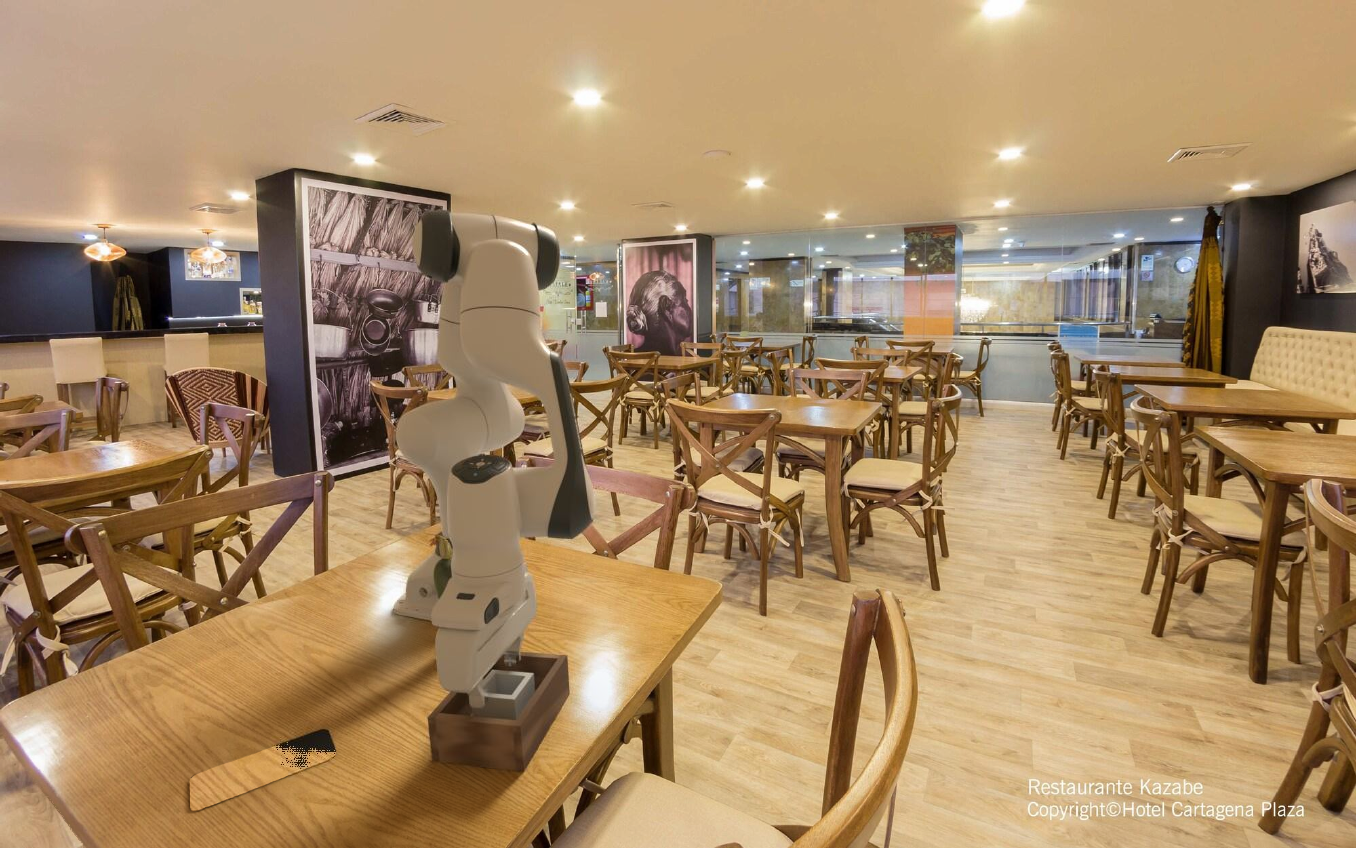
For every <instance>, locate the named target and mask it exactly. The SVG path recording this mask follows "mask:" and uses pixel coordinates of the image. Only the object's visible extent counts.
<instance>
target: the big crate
mask: <svg viewBox="0 0 1356 848" xmlns="http://www.w3.org/2000/svg"><path fill="white" fill-rule="evenodd" d="M520 653H521V660H520V661H519V663H518V664H517V665H516V666H515V667H512V666H506V665H505V664H504V660H505V659H504V654H503V655H502V656H501V657H500V659H499V660H498V661H497V662H496V663H495V664H494V665H493V667H492V668H491V669H490V670H489V671H488V672H487V674H486V675H485V676H484V677H483V680H484V679H485V678H486V677H487V675H488V674H489V673H490V672H491V671H492V670H502V671H514V672H525V673H534V683H535V693H534V695H533V696H532V698H531V699H530V701H529V702H528V704H527V705H526V707H525V708H524V710H523V711H522V712H521V714H520V715H519V717H518V718H517V720H507V719H496V718H486V717H475V716H473V714H472V707H471V706H470V702H469V695H468V694H467V693H459V692H451V691H449V693H448V694H447V695H446V696H445V697H444V698H443V699H442V701H441V702H440V703H438V705H437V706H436V707H435V708H434V709H433V711H432V712H430V714H429V715H428V716H427V718H426V719H427V725H428V735H429V745H430V752H431V753H430V755H431V762H433V763H444V764H452V765H460V766H462V765H463V766H471V767H480V768H489V769H495V770H496V769H498V770H508V771H514V772H525V771H526V769H527V768H528V766H529V764H530V762H532V759H533V757H534V755H535V754H536V752H537V751H538V748H539V747H540V746H541V744H542V742H543V740H544V738H545V737H546V735H547V733H548V732H549V730H550V728H551V726H552V725H553V723H554V721H555V720H556V718H557V716H558V715H559V713H560V711H561V710H562V708H563V706H564V704H565V703H566V702H567V699H568V698H569V696H570V676H569V675H570V673H569V662H568V661H569V660H568V654H557V653H556V654H555V653H543V652H542V653H541V652H530V651H529V652H527V651H520Z"/></svg>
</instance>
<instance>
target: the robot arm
mask: <svg viewBox="0 0 1356 848" xmlns="http://www.w3.org/2000/svg"><path fill="white" fill-rule="evenodd" d="M411 241H412V242H411V248H412V249H411V250H412V253H413V258H414V260H415V263H416V267H417V269H418V271H419V272H421V274H422V275H424V277H426V278H429V279H431V280H434V281H436V282H438V283H443V290H442V295H441V299H440V300H441V301H440V308H439V309H440V310H439V320H438V322H439V323H438V333H437V334H438V336H437V346H436V347H437V349H436V358H437V361H438V364H439V366H440V367H441V368H442V369H443V370H444V371H445V372H446V373H448V374H449V375H451V376H452V377H453V378H454V381H455V387H456V393H455V397H453V398H447V399H441V400H436V401H430V402H426V403H424V404H422V405H419V406H417V407H415V408H413V409H411V410H409V411H407V412H405V413H404V414H403V415H401V417H400V418H399V420H398V422H397V426H396V430H395V441H396V445H397V447H398V450H399V451H400V453H401V454H402V456H403V457H404V458H405V460H407V461H408V462H409V463H410V464H411V465H413V466H415V467H418V468H419V469H420V470H422V471H423V472H424V473H425V475H426V476H427V477H428V479H429V480H430V482H431V484H432V486H433V488H434V492H435V494H436V497H437V502H438V509H439V516H440V525H441V526H440V527H441V531H440V532H438V533H437V534H435V535H434V537H433V538H431V539H430V540H429V543H430V544H429V547H432V546H433V545H434V538H435V537H436V536H437V535H439V536H442V537H444V538H446V540H447V541H448V542H449V543H450V545H451V549H452V551H453V557H452V562H451V571H452V578H450V580H449V581H448V584H447V586H446V588H445V590H444V592H443V594H442V596H441V597H440V599H439V598H438V595H437V591H436V587H435V583H434V568H435V565H436V563H437V562H438V561H439V560H440V559H442V557H440V556H441V555H440V550H439V542H438V541H437V543H436V545H434V546H435V549H434V552H432V553H431V554H430V555H429V556H428V557H426V558H424V560H423V561H422V562H421V563H420V564H418V566H416V567H414V569H413V570H412V571H411V572H410V573H409V575H408V577H407V581H406V587H405V592H404V593H403V594H402V595H401V596H400V597H399V598H398V599H396V601H395V602H394V604H393V605H394V606H393V614H395V615H399V616H405V617H408V618H409V617H410V618H416V619H420V620H425V621H431V625H433V626H434V627H438V629H437V631H436V633H435V634H436V635H435V640H434V641H435V642H434V646H435V647H434V649H435V651H434V652H435V659H436V661H435V663H436V670H437V677H438V682H439V685H440V686H441V688H442V689H443V690H445V691H447V692H459V693H467V694H468V695H469V702H470V706H471V707H472V708H482V707H483V706H484V704H485V703H486V702H487V701H488V689H483V688H482V686H481V684H482V683H483V677H484V676H485V675H486V674H487V672H488V671H489V670H490V669H491V668H492V667H493V665H494V664H495V663H496V662H497V661H498V660H499V659H500V657H501V656H502V655H503V654H504V659H505V660H504V664H505V665H506V666H512V667H515V666H516V665H517V664H518V663H519V661H520V660H521V653H520V652H521V650H522V645H523V640H524V635H525V630H526V629H527V627H528V626H529V625H530V624H531V623H532V622H533V621H534V620H535V618H536V615H537V611H538V610H537V609H538V602H537V594H536V587H535V582H534V577H533V575H532V573H530V572H528V564H527V562H525V559H524V553H523V550H522V547H521V543H520V538H543V537H545V538H546V537H547V539H550V538H551V539H561V540H562V539H563V540H564V539H565V540H573V539H575V538H577V537H578V536H579V535H581V534H582V533H583V532H585V531H586V530H587V529H588V528H589V527H590V526H591V524H592V523H593V522H594V517H595V512H596V507H597V506H596V505H597V504H596V495H595V489H594V487H593V483H592V481H591V477H590V475H589V472H588V468H587V463H586V460H585V455H584V450H583V443H582V438H581V433H580V427H579V422H578V418H577V412H576V407H575V403H574V396H573V392H572V387H571V384H570V383H571V382H570V378H569V376H568V375H569V374H568V371H567V367H566V365H565V363H564V360H563V358H562V356H561V355H560V353H559V352H556V351H554V350H552V349H551V348H550V347H549V345H548V344H547V343H546V341H545V338H544V335H543V331H542V326H541V305H540V304H541V303H540V293H539V291H542V290H546V289H547V288H549V287H550V286H551V285H553V284H554V283H555V280H556V278H557V276H558V273H559V270H560V266H561V249H560V242H559V239H558V236H556V234H555V232H554V231H553V230H552V229H550V228H548V227H546V226H543V225H541V224H538V223H535V222H533V223H528V222H525V221H521V220H518V219H513V218H510V217H505V216H500V215H495V214H491V215H487V214H479V213H469V212H465V213H464V212H450V211H449V210H448V209H438V210H437V209H435V210H428V211H426V212H424V213H423V214H422V215H421V216H420V217H419V220H418V223H417V224H416V226H415V228H414V231H413V234H412V238H411ZM508 385H509V386H511V387H515V388H517V389H520V390H523V391H525V392H527V393H529V394H531V395H533V396H534V397H536V398H537V399H538V400H539V401H540V402H541V404H542V405H543V407H544V411H545V414H546V419H547V424H548V425H547V426H548V432H549V436H550V442H551V447H552V452H553V458H554V462H553V463H552V464H551V465H549V466H534V467H533V466H529V467H513V465H512V462H511V461H510V459H507V458H506V457H504V456H501V455H497V454H485V453H490V452H492V451H493V452H494V451H496V450H499V449H501V448H504V447H505V446H507V445H508V444H510V443H512V442H514V441H515V440H516V439H518V438H519V437H520V436H521V435H522V433H524V432H523V431H524V428H525V426H526V416H525V411H524V409H523V406H522V404H521V402H520V401H519V400H518V399H517V398H516V397H515V396H513V394H512V393H511V391H510V389H509V386H508Z"/></svg>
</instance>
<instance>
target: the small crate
mask: <svg viewBox="0 0 1356 848" xmlns="http://www.w3.org/2000/svg"><path fill="white" fill-rule="evenodd" d="M481 686H482V688H483V689H488V701H487V702H486V703H485V704H484V706H483V707H482V708H472V714H473V716H475V717H486V718H496V719H507V720H517V718H518V717H519V715H520V714H521V712H522V711H523V710H524V708H525V707H526V705H527V704H528V702H529V701H530V699H531V698H532V696H533V695H534V693H535V683H534V673H525V672H514V671H502V670H492V671H491V672H490V673H489V674H488V675H487V677H486V678H485V679H484V680H483V683H482V684H481Z"/></svg>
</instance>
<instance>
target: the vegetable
mask: <svg viewBox="0 0 1356 848" xmlns="http://www.w3.org/2000/svg"><path fill="white" fill-rule="evenodd" d="M434 537H435V536H434ZM434 537H433V538H434ZM437 541H438V542H439V550H440V555H441V556H440V557H442V559H440V560H439V561H438V562H437V563H436V565H435V568H434V583H435V587H436V591H437V595H438V598H439V599H440V597H441V596H442V594H443V592H444V590H445V588H446V586H447V584H448V581H449V580H450V578H452V571H451V562H452V557H453V551H452V549H451V545H450V543H449V542H448V541H447V540H446V538H444V537H442V536H439V535H437V536H436V537H435V538H434V546H436V543H437Z"/></svg>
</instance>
